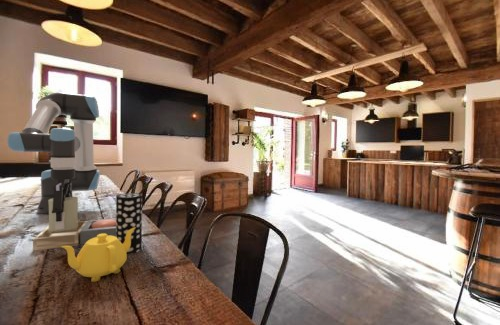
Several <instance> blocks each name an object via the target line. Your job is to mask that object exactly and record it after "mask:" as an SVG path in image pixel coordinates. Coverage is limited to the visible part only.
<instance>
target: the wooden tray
mask: <svg viewBox="0 0 500 325" xmlns="http://www.w3.org/2000/svg"><path fill="white" fill-rule="evenodd" d="M87 221H88V220H82V221H81V220H80V221H79V220H78V227H76V228H74V229H71V230H67V231H60V232H52V231H49V225H47V227H45V229H43V230H42V231H41V232H40V233H38V234H37V235H36V236H35V237H34V238H33V239H32V251H39V250H40V251H41V250H48V249H59V248H62V247H61V246H72V247H77V246H79V245H80V231H81V230H82V228H83V227H84V225H85V224H86V223H87Z"/></svg>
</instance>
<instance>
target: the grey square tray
mask: <svg viewBox="0 0 500 325" xmlns="http://www.w3.org/2000/svg"><path fill="white" fill-rule="evenodd" d="M100 220H116V217H114V218H103V219H90V220H86V221H87V223H86V224H85V225H84V227H83V228H82V230H81V231H80V243H79V245H84V244H85V243H86V242H87V241H88V240H90V239H92V238H95V237H97V235H99V234H103V233H105V234H107V235H111V236H115V237H116V226H115V227H104V228H93V229H92V223H94V222H96V221H100Z"/></svg>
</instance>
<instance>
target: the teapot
mask: <svg viewBox="0 0 500 325" xmlns="http://www.w3.org/2000/svg"><path fill="white" fill-rule="evenodd" d="M135 228H136V227H134V228H132V229H130V230H129V231H128V232H127V234H126V238H125V241H124V243H123V244H122V243H121V242H120V240H119V239H118V238H117V237H115V236H111V235H107V234H105V233H103V234H99V235H97V237H95V238H92V239H90V240H88V241H87V242H86V243H85V244H83V245H82V247H81V249H80V250H79V252H78V254H77V255H76V254H75V249H74V246H61V247H60V248H62V249H65V250H66V253H67V263H68V266H70V268H72V269H74V270H75V271H76V272H77V273H78V274H79V275H81V276H83V277H85V278H91V279H90V282H92V283H96V282H99V281H100V280H101V279H102V278H101V277H104V276H108V275H111V274H114V275H116V274H119V273H121V271H122V270H121V267H122V266H123V265H124V264H125V263H126V261H127V258H128V257H127V255H128V254H126V253H127V252H128V250H129V249H130V246H131V234H132V232H133V230H134V229H135Z"/></svg>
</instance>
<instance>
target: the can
mask: <svg viewBox="0 0 500 325" xmlns="http://www.w3.org/2000/svg"><path fill="white" fill-rule="evenodd" d="M78 200H79V198H78V197H77V196H73V197H65V201H64V211H63V212H64V224H65V229H61V230H55V213H52V210H53V198H52V199H49V200H48V202H49V214H48V226H49V231H52V232H60V231H67V230H71V229H74V228H76V227H78V222H79V219H78V216H79V215H78V214H79V213H78V210H79V208H78V206H79V205H78V203H79V202H78ZM57 209H59V208H57Z"/></svg>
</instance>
